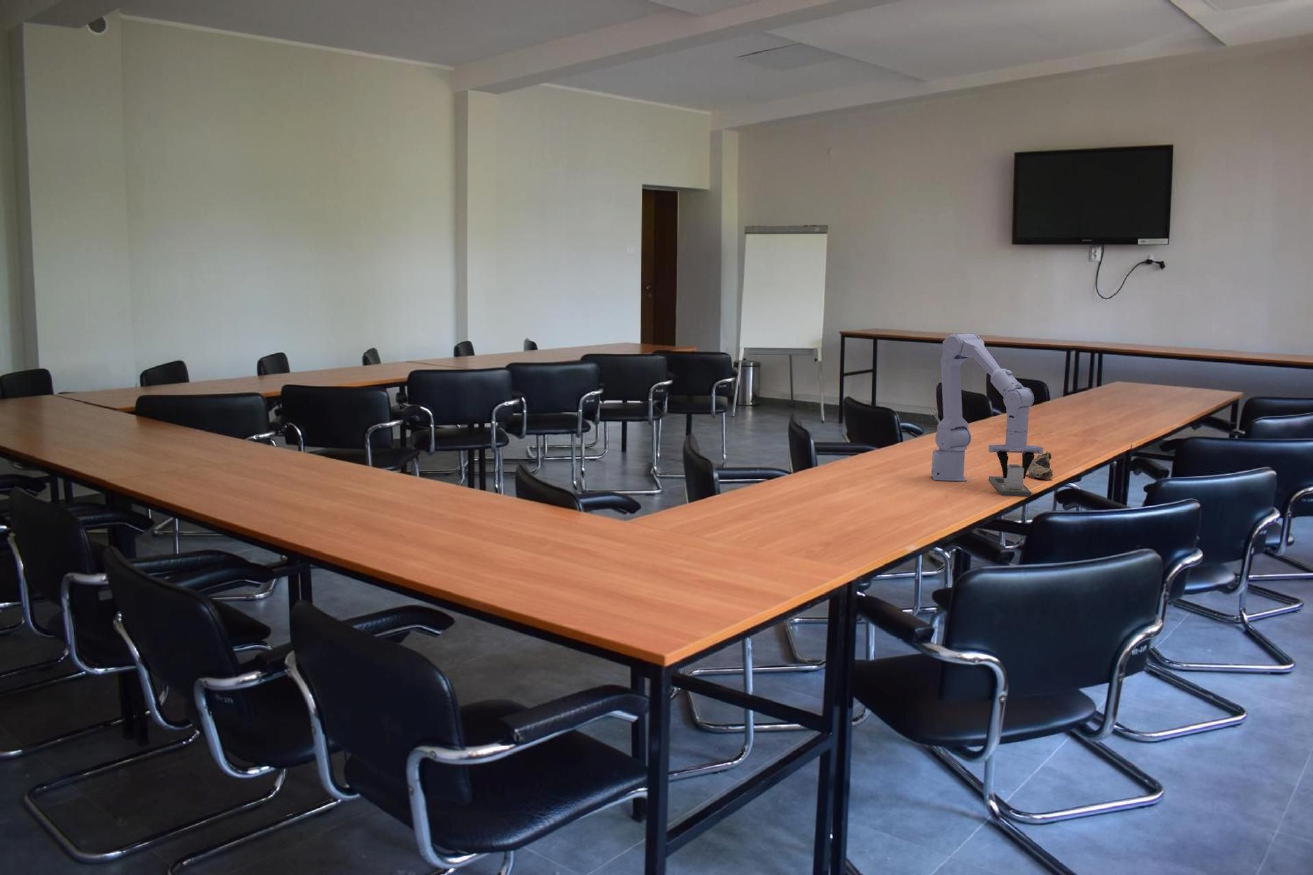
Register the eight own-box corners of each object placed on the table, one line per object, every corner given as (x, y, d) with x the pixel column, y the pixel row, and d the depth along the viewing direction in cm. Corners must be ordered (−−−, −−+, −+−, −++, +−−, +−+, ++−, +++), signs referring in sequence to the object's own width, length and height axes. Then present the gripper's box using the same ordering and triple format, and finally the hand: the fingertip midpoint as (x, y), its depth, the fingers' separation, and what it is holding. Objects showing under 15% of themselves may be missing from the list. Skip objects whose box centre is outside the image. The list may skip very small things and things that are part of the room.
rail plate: (1001, 495, 292) (1001, 491, 292) (988, 480, 314) (988, 475, 313) (1031, 496, 291) (1031, 492, 291) (1016, 480, 312) (1016, 476, 312)
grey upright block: (1006, 488, 295) (1007, 466, 294) (1003, 485, 299) (1005, 463, 298) (1022, 489, 294) (1024, 466, 293) (1019, 485, 298) (1021, 463, 297)
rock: (1067, 474, 315) (1050, 450, 321) (1057, 467, 310) (1040, 443, 317) (1043, 491, 319) (1027, 467, 325) (1033, 485, 314) (1016, 460, 320)
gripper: (992, 432, 291) (989, 479, 293) (1046, 433, 289) (1043, 481, 291) (988, 428, 298) (985, 474, 300) (1041, 429, 295) (1038, 476, 298)
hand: (1013, 477), depth 296 cm, fingers closed on grey upright block, 4 cm apart
